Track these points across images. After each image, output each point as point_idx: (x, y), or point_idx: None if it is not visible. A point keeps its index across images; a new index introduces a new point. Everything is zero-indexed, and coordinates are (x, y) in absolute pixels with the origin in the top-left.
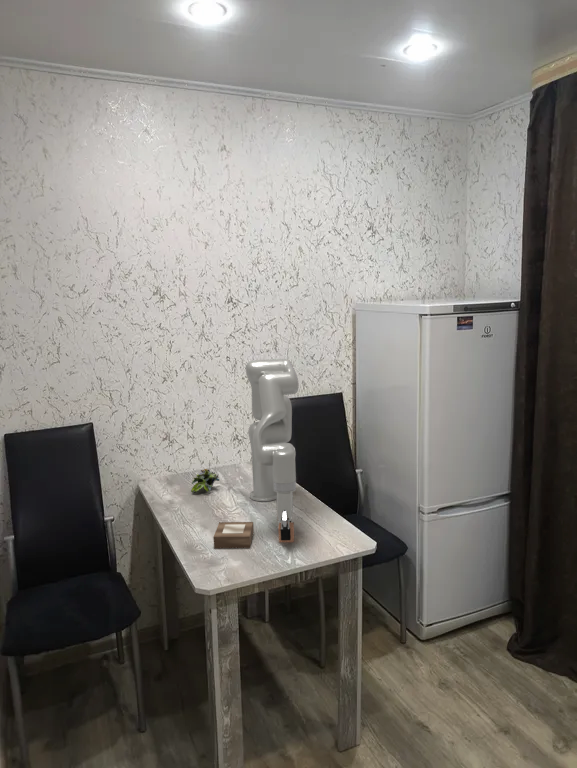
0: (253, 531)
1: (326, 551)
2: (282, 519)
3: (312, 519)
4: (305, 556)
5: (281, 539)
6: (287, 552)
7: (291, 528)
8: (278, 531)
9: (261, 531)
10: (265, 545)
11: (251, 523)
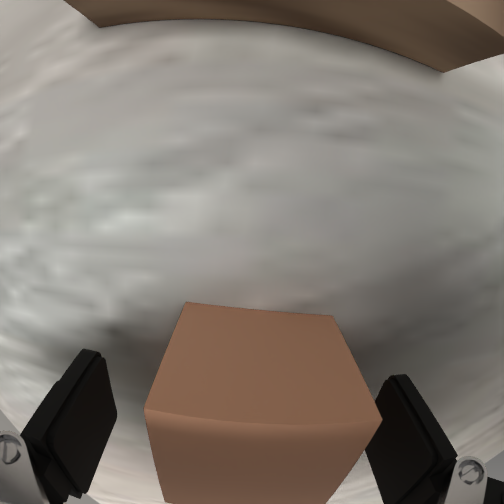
0: (442, 63)
1: (95, 478)
2: (432, 442)
3: (458, 449)
4: (25, 405)
5: (82, 353)
6: (32, 338)
7: (163, 495)
8: (157, 377)
9: (459, 148)
10: (125, 164)
11: (482, 9)
